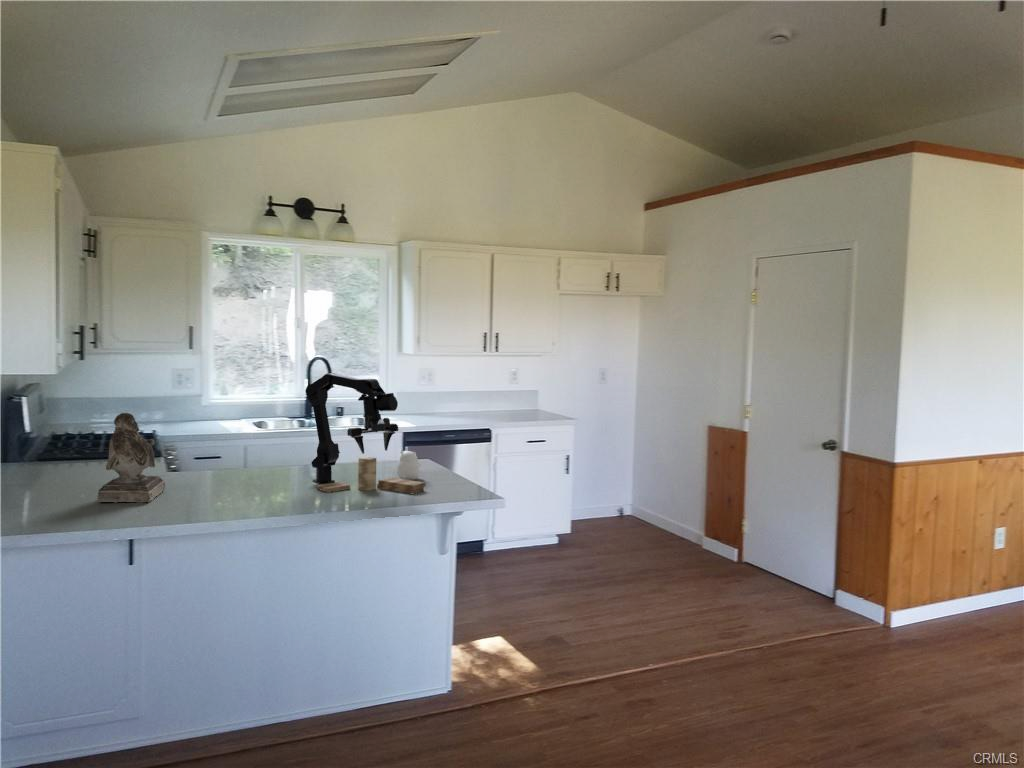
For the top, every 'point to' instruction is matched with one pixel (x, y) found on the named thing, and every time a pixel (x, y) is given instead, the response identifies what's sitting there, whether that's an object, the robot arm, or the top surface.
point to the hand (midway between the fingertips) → (374, 452)
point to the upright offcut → (367, 473)
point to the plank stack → (400, 485)
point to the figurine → (408, 466)
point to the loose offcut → (333, 486)
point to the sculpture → (130, 465)
